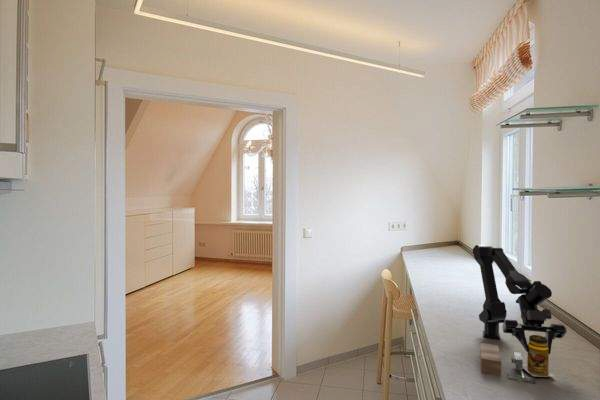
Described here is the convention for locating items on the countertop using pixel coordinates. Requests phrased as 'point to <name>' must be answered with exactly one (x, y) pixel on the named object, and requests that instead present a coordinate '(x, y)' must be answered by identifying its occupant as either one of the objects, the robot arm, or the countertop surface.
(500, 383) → the countertop surface
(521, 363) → the plunger
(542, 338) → the condiment
